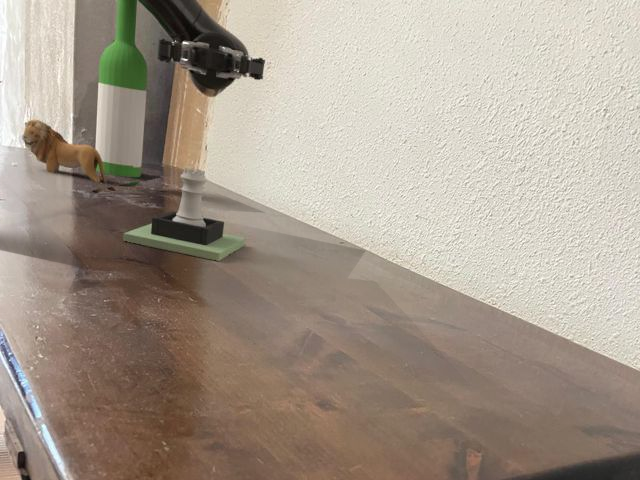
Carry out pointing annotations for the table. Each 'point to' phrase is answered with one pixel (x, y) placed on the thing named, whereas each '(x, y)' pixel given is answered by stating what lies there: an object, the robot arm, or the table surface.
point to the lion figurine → (61, 151)
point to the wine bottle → (122, 99)
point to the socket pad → (186, 237)
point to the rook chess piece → (191, 198)
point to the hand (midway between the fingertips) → (209, 58)
